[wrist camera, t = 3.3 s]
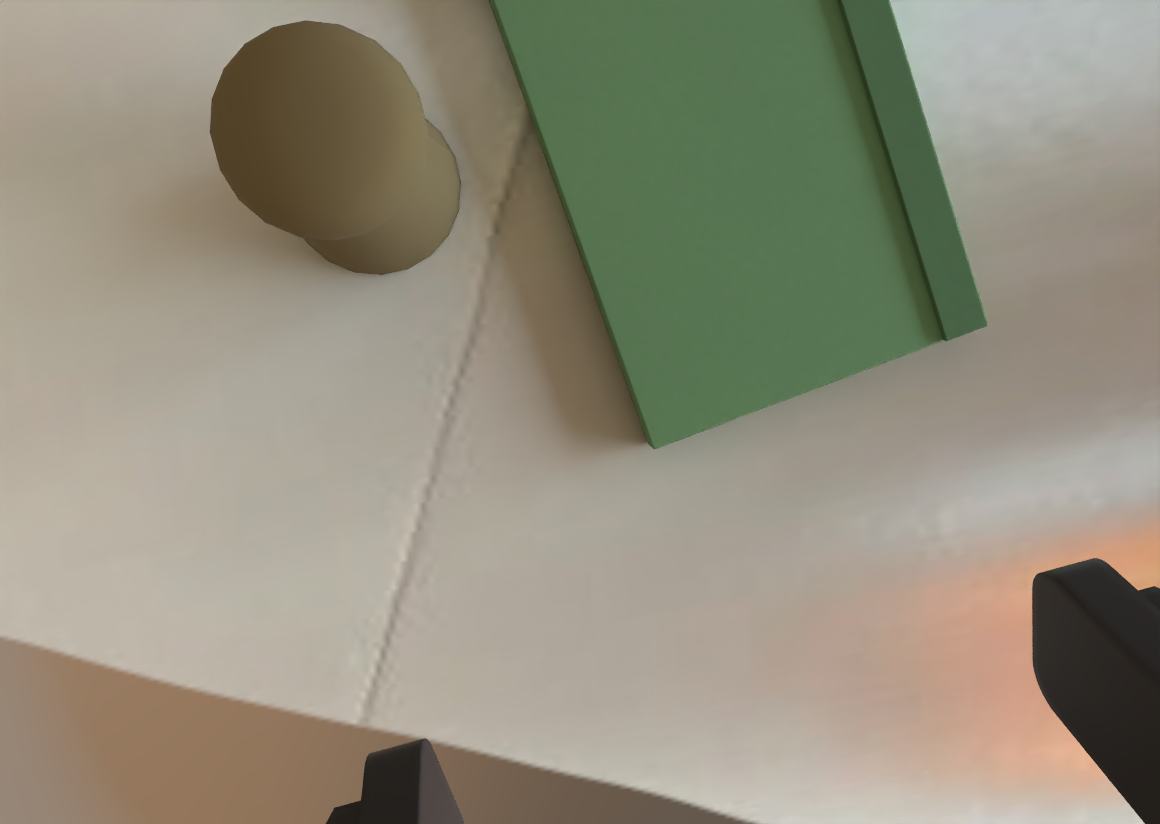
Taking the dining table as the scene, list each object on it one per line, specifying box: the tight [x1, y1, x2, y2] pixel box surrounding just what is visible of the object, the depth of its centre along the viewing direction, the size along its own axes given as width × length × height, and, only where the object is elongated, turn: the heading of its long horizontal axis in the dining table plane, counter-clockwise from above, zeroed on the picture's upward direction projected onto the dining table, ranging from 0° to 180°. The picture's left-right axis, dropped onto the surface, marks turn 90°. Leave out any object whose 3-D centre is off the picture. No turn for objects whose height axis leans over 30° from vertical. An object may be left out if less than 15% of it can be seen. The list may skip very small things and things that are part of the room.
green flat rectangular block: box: [489, 0, 987, 449], centre depth 32 cm, size 24×13×2 cm, turn 20°
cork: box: [210, 21, 461, 275], centre depth 26 cm, size 6×6×11 cm
